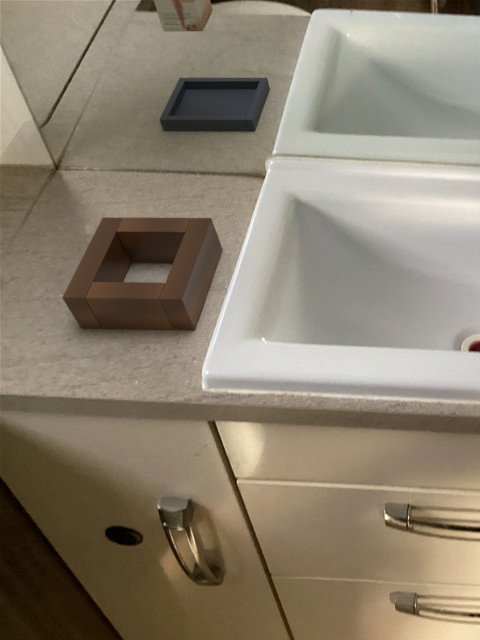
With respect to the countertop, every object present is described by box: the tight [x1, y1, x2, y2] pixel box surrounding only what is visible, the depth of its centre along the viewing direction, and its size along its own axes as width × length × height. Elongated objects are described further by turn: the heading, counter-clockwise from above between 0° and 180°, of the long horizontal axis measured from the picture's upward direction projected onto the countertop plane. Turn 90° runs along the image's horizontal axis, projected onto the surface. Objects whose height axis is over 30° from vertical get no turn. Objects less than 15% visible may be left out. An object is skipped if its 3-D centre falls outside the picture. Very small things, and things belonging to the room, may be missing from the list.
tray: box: [159, 77, 271, 132], centre depth 92 cm, size 11×9×2 cm
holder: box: [62, 216, 223, 331], centre depth 73 cm, size 10×10×4 cm
